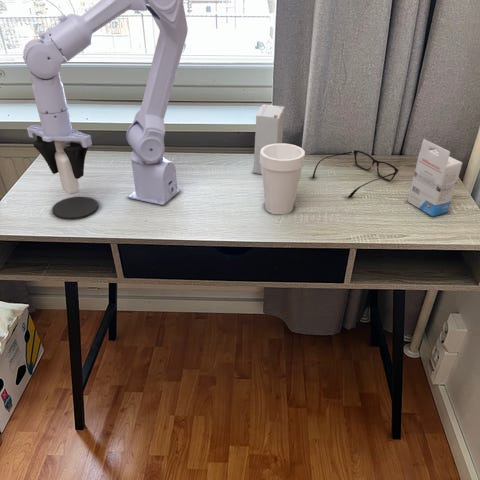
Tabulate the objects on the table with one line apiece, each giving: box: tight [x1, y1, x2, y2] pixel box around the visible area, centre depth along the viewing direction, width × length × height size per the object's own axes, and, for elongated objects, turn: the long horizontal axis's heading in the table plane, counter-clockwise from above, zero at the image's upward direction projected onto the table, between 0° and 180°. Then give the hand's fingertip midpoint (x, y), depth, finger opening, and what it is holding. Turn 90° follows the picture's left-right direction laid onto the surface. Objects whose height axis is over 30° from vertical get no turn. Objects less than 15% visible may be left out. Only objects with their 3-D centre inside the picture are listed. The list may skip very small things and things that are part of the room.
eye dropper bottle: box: [54, 141, 81, 195], centre depth 106 cm, size 4×6×12 cm
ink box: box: [407, 138, 463, 218], centre depth 110 cm, size 8×5×15 cm, turn 26°
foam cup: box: [260, 142, 306, 215], centre depth 109 cm, size 10×9×13 cm
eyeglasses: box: [311, 149, 400, 199], centre depth 124 cm, size 16×16×4 cm
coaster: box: [51, 196, 99, 220], centre depth 113 cm, size 10×10×1 cm
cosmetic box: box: [253, 103, 286, 175], centre depth 125 cm, size 8×6×15 cm
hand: (67, 174), depth 108 cm, fingers closed on eye dropper bottle, 5 cm apart
